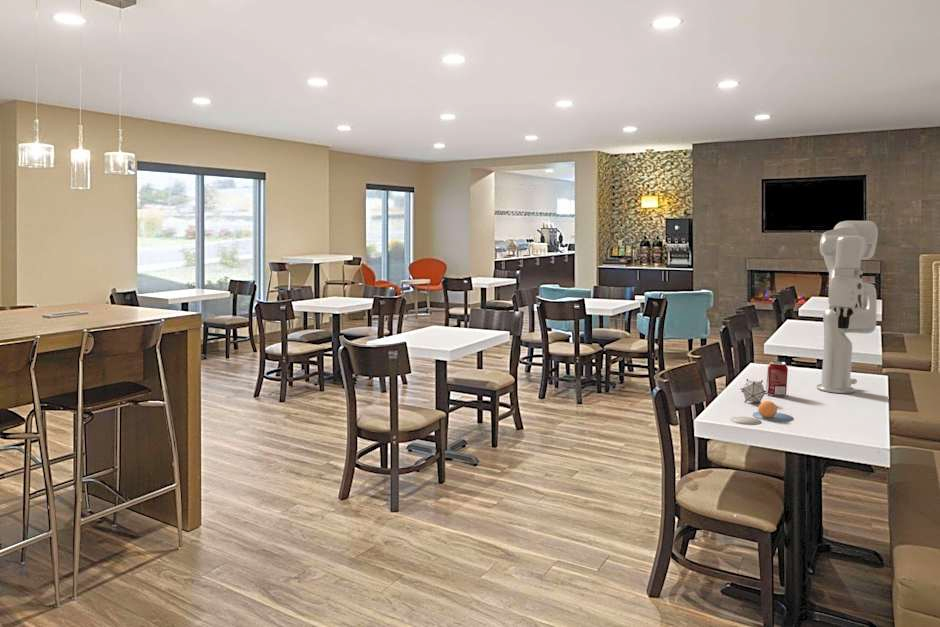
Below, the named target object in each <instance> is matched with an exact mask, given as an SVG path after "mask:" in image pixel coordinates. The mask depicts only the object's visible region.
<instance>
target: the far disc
mask: <svg viewBox="0 0 940 627" xmlns="http://www.w3.org/2000/svg"><path fill="white" fill-rule="evenodd" d="M731 420H732V421H731ZM730 421H731V422H733V421H734V422H733V423H736V422H737V424H740V423H742V424H741V425H748V424H749V425H755V426H756V425H759V424H761V423H762V421H761V419H758V418H756V417H750V416H732V417H730Z"/></svg>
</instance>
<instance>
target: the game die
mask: <svg viewBox="0 0 940 627" xmlns="http://www.w3.org/2000/svg"><path fill="white" fill-rule="evenodd" d="M763 382H764V380H761V381H757V380H749V379H748V378H746V382H745V385H744V386H743V388H740V390H741V393H743V395H744V399H745V400H744V403H747V402H753V403H754V402H755V403H759V405H760V404H761V403H762V400H763V398H764V396H765V395H768V394H767V393H766V392H767V391H766V390H765V388H764V386H763Z"/></svg>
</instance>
